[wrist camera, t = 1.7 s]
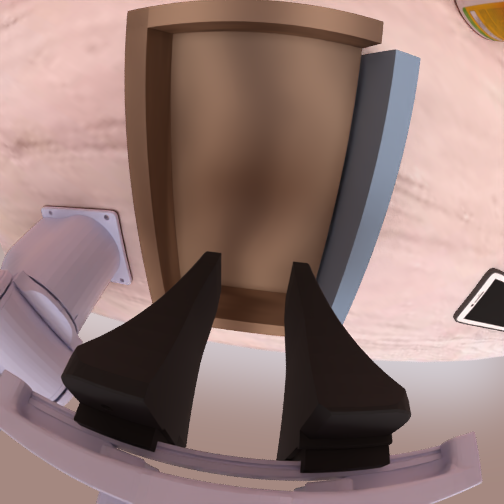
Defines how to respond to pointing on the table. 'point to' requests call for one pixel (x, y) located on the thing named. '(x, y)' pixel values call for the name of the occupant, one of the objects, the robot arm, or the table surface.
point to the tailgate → (367, 172)
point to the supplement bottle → (484, 17)
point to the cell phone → (485, 303)
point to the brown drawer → (239, 142)
